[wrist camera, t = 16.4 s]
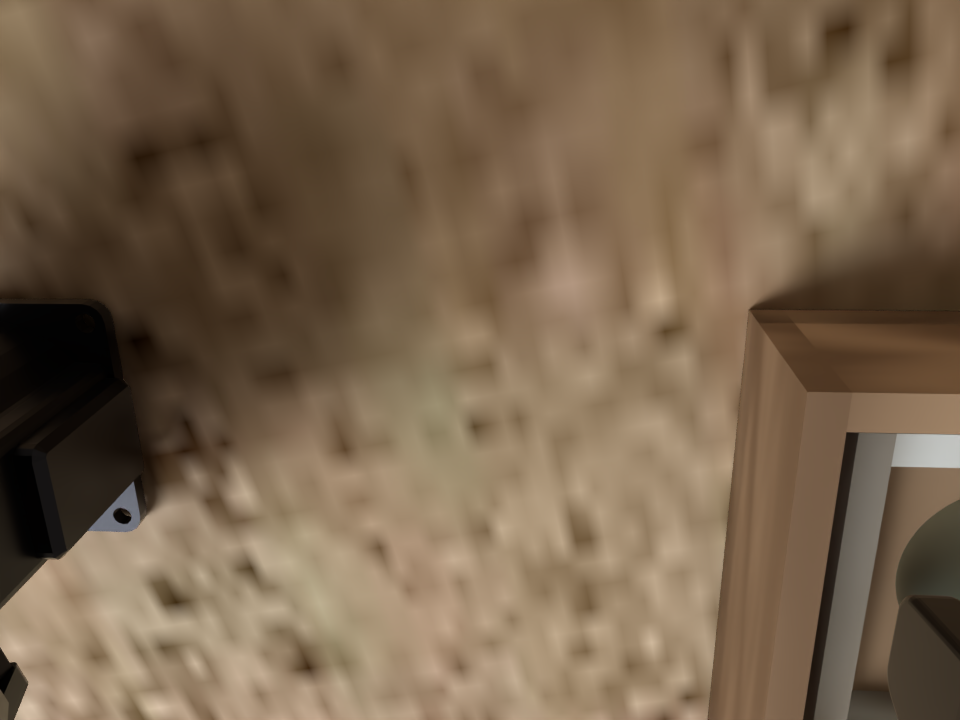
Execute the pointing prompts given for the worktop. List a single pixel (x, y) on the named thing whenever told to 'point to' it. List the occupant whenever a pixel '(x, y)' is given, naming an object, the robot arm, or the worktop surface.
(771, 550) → the walnut box
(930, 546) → the sage peg
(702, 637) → the worktop surface
